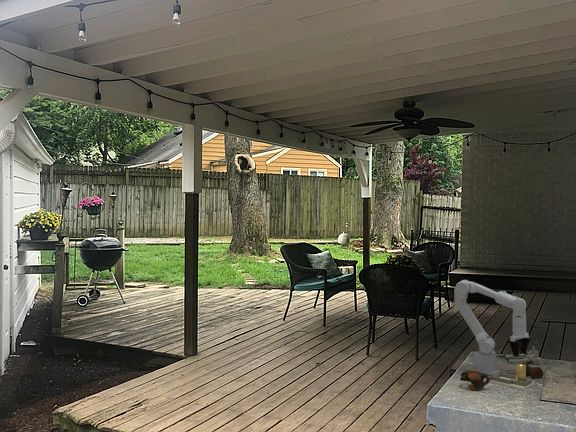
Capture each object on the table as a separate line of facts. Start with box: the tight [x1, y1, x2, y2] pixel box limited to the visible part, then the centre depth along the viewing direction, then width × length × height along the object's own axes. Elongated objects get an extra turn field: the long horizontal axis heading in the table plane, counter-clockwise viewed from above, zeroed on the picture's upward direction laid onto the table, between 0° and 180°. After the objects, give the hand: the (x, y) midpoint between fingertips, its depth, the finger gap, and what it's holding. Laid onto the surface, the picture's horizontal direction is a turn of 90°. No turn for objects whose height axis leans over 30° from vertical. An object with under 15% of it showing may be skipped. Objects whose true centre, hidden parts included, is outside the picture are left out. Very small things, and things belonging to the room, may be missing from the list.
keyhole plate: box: [488, 372, 535, 391], centre depth 233 cm, size 15×11×2 cm
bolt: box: [521, 362, 544, 380], centre depth 247 cm, size 6×5×15 cm
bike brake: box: [496, 346, 542, 364], centre depth 271 cm, size 14×7×20 cm
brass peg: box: [515, 362, 527, 382], centre depth 229 cm, size 4×4×8 cm
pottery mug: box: [459, 370, 490, 392], centre depth 227 cm, size 12×10×8 cm
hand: (519, 355), depth 244 cm, fingers open, 7 cm apart
